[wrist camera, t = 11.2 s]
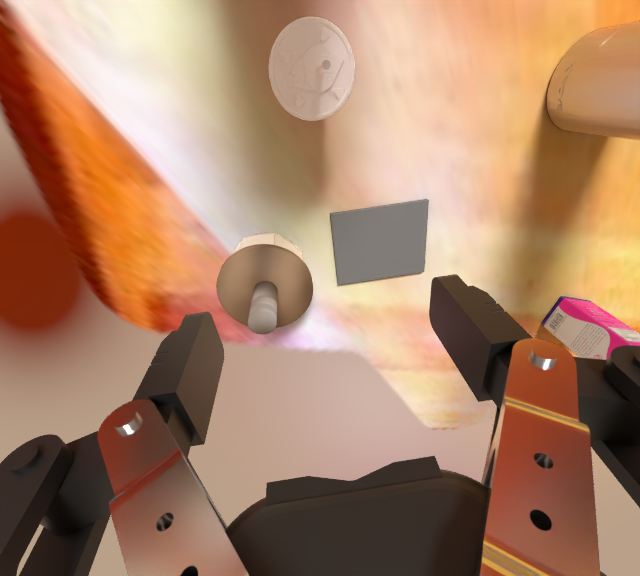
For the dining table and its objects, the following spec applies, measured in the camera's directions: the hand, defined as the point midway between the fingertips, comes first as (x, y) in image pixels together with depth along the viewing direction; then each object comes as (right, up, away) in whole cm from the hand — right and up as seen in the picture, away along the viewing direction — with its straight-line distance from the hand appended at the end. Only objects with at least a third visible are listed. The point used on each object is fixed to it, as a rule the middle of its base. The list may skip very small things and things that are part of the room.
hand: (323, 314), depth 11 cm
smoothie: (-2, +22, +20) cm, 29 cm away
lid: (-7, +1, +26) cm, 27 cm away
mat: (+8, +7, +30) cm, 31 cm away
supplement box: (+39, -3, +39) cm, 56 cm away
